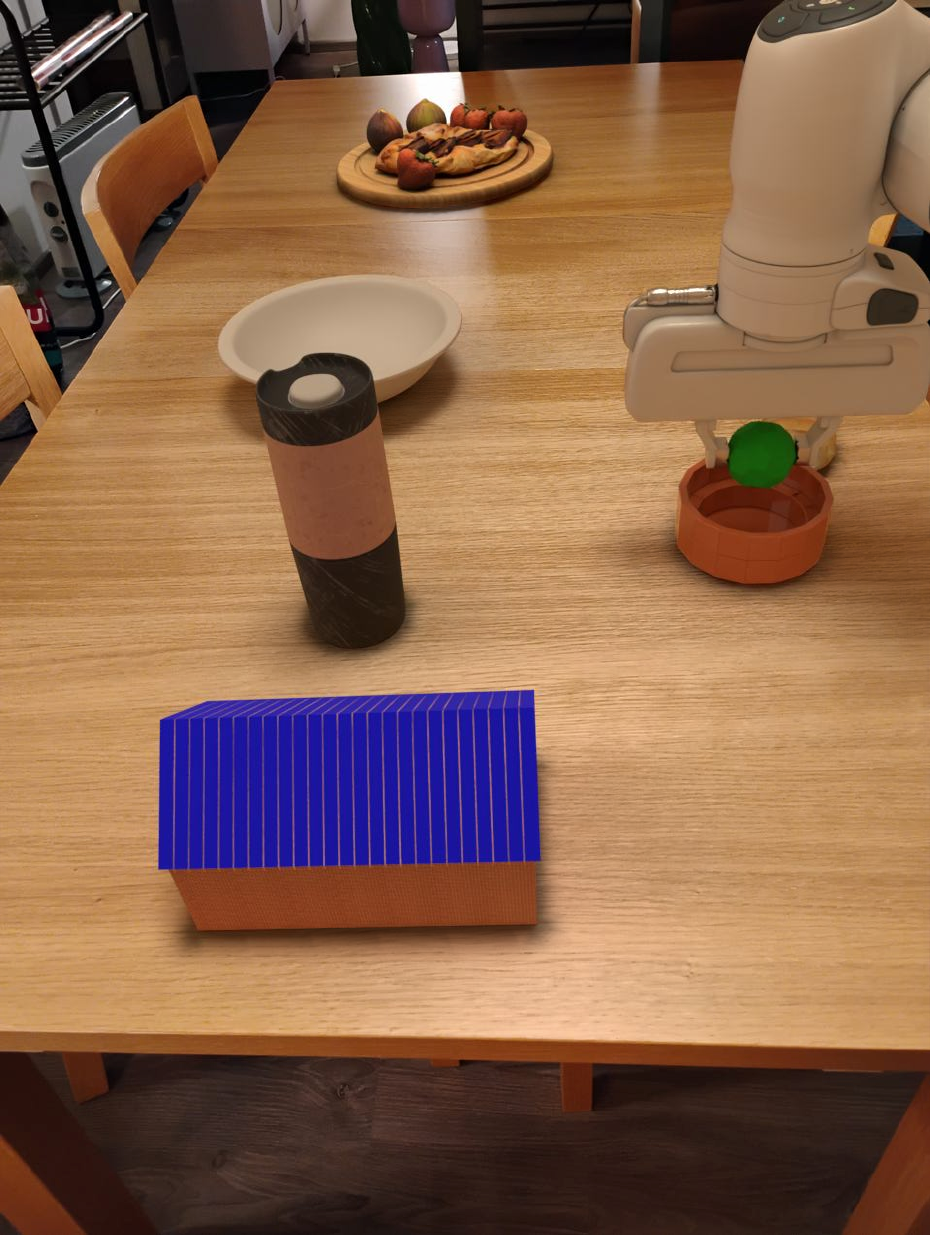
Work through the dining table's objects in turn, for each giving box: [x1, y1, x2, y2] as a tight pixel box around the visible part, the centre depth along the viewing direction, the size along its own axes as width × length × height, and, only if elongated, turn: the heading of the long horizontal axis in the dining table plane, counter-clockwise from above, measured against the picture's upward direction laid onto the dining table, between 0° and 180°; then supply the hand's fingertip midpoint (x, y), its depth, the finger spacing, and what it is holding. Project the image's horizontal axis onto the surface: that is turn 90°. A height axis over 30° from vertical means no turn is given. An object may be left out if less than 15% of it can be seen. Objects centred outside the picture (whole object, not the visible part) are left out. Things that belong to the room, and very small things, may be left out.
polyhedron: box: [727, 420, 796, 489], centre depth 73 cm, size 5×5×5 cm
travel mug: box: [254, 353, 406, 649], centre depth 69 cm, size 8×8×20 cm
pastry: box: [761, 417, 837, 471], centre depth 87 cm, size 9×7×4 cm
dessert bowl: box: [674, 457, 835, 584], centre depth 77 cm, size 11×11×5 cm
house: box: [157, 689, 542, 931], centre depth 56 cm, size 12×20×12 cm, turn 89°
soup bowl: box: [217, 273, 463, 404], centre depth 100 cm, size 24×24×7 cm
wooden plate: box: [335, 98, 555, 209], centre depth 144 cm, size 32×32×8 cm
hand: (759, 462), depth 73 cm, fingers closed on polyhedron, 5 cm apart
